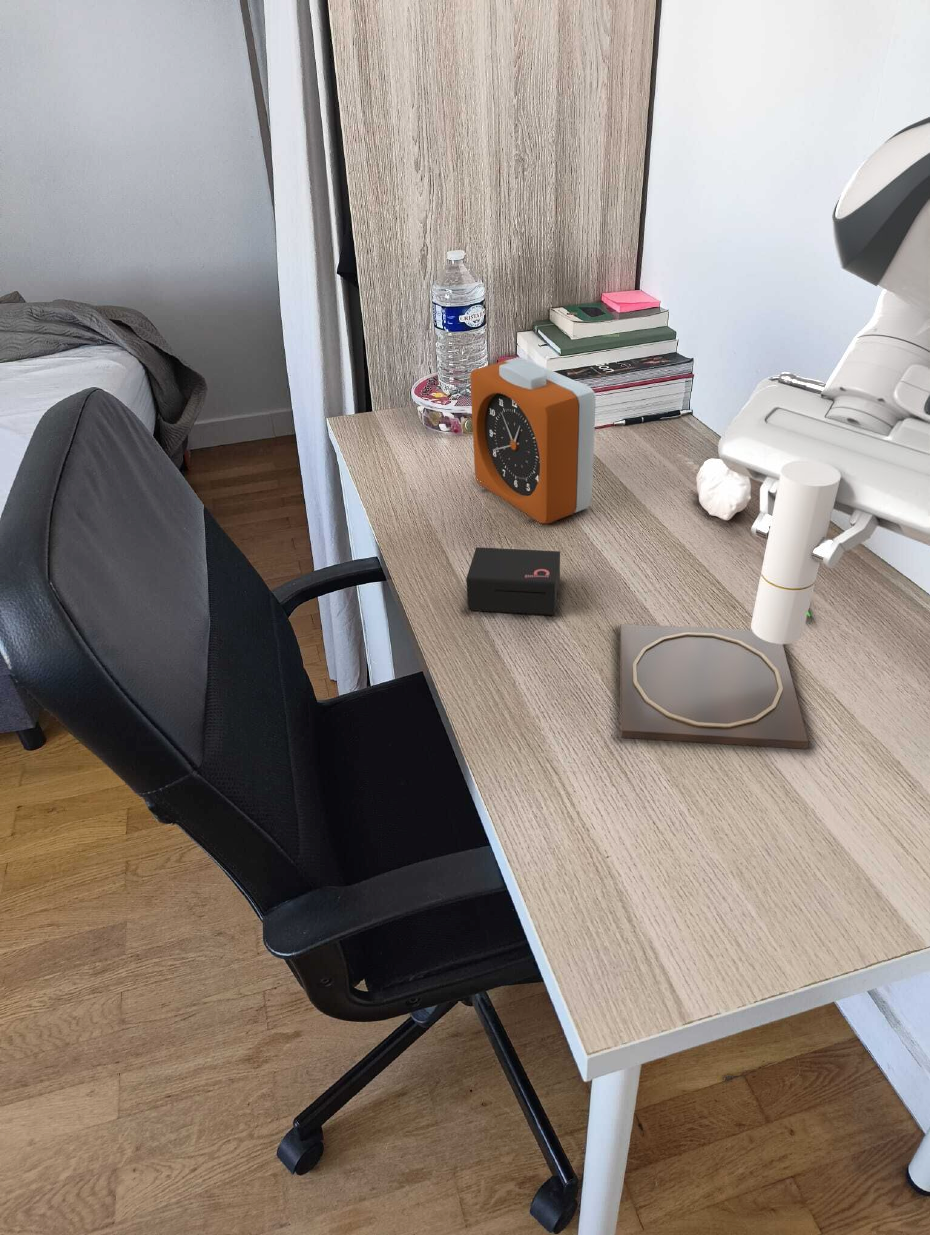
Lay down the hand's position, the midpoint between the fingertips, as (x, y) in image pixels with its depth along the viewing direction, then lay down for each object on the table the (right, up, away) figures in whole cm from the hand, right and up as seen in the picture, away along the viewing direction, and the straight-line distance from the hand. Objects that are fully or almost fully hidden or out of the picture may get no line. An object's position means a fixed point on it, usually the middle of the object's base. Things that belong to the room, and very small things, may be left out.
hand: (790, 550), depth 68 cm
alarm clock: (-16, +13, +60) cm, 63 cm away
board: (0, -13, +23) cm, 26 cm away
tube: (+1, -7, +5) cm, 9 cm away
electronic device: (-20, -3, +38) cm, 43 cm away
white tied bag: (+11, +10, +54) cm, 56 cm away
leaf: (+14, -2, +37) cm, 39 cm away
